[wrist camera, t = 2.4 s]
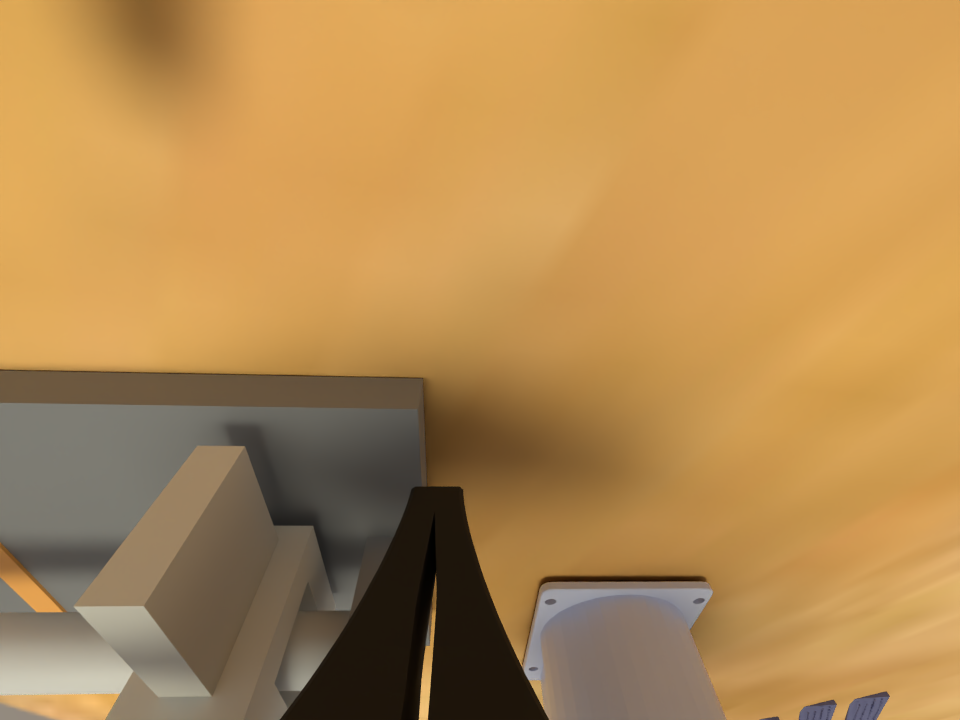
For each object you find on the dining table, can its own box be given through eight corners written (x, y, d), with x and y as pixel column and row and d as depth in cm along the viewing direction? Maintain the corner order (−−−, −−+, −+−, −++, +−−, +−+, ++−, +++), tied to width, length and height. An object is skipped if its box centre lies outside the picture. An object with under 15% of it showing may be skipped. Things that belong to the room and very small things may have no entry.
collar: (335, 606, 16) (288, 788, 12) (256, 606, 16) (180, 790, 12) (287, 433, 11) (179, 636, 7) (173, 431, 11) (-7, 638, 7)
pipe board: (432, 611, 20) (420, 781, 15) (-86, 614, 19) (-283, 799, 14) (422, 378, 13) (394, 562, 8) (-429, 362, 12) (-1108, 564, 7)
